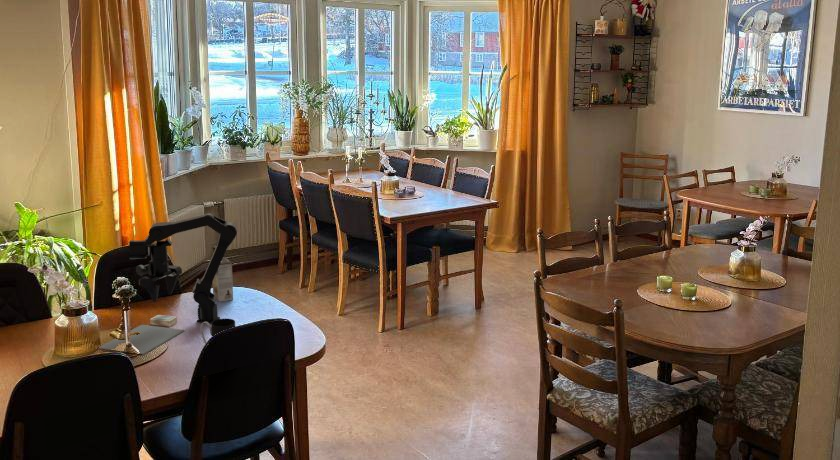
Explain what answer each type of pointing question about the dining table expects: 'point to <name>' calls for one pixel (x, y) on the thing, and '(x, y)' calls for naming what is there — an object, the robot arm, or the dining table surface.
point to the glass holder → (218, 326)
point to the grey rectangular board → (146, 338)
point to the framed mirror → (163, 320)
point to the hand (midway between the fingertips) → (162, 298)
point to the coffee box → (223, 281)
